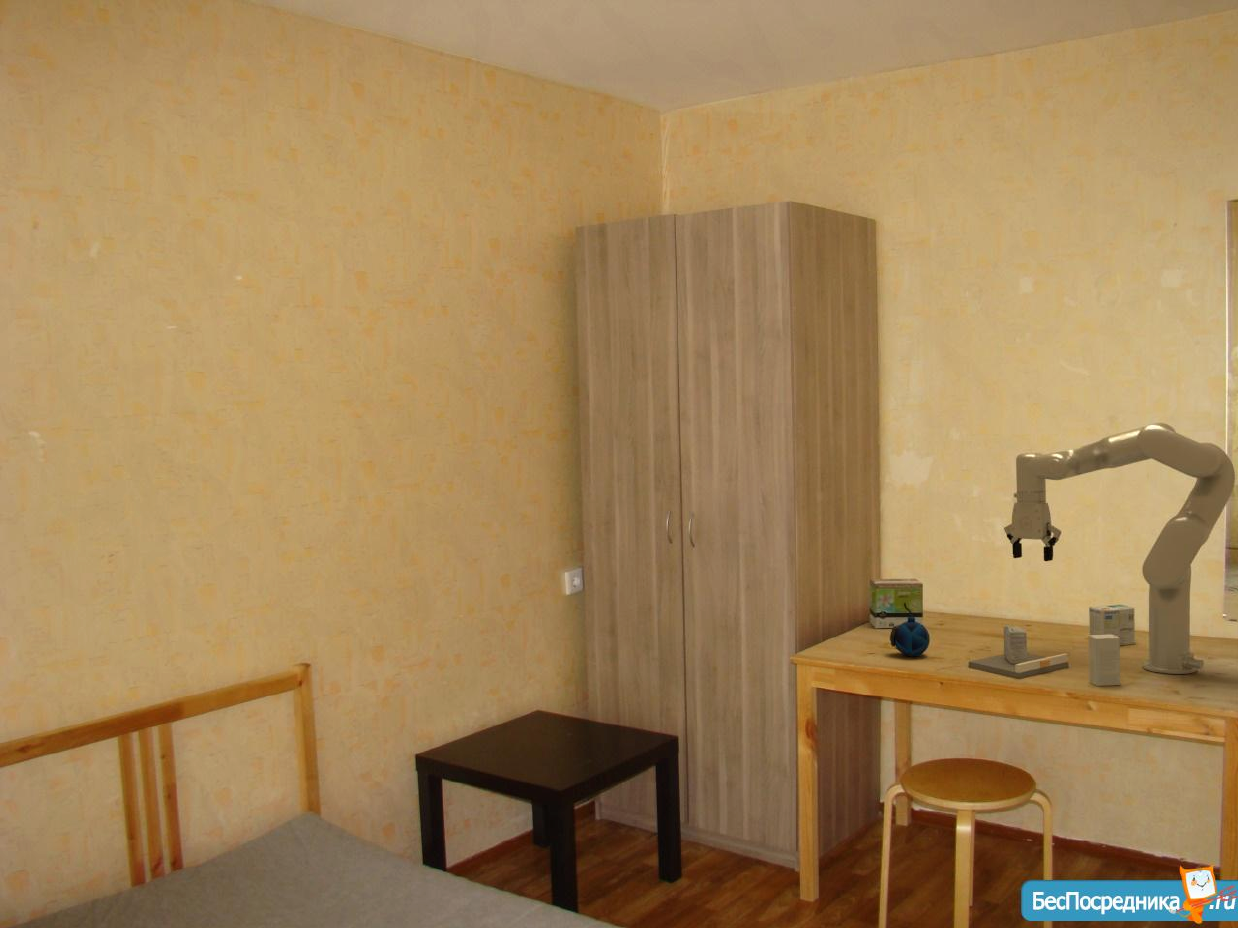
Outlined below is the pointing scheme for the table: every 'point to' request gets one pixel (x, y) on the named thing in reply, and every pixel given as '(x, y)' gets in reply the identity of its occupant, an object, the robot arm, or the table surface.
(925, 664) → the table surface
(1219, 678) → the table surface
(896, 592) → the tea box
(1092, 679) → the skincare box
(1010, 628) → the medicine box
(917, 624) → the bomb
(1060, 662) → the shelf board
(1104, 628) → the light bulb box
